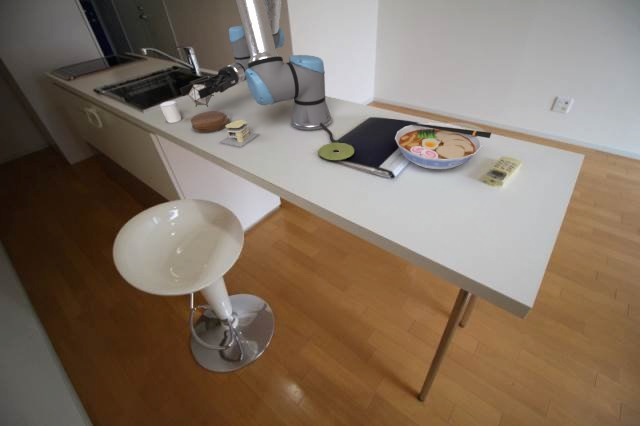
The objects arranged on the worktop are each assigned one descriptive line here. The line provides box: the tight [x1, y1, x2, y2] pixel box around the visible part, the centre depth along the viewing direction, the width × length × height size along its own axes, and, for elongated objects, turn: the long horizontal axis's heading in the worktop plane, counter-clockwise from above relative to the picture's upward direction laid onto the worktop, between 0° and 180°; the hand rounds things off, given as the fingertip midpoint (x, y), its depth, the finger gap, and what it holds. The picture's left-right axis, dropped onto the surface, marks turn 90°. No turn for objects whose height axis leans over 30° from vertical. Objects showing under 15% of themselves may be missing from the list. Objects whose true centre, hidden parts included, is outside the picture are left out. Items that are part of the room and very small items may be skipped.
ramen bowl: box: [394, 121, 492, 170], centre depth 82 cm, size 25×23×8 cm
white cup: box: [159, 100, 182, 124], centre depth 120 cm, size 7×7×7 cm
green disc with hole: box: [317, 142, 355, 161], centre depth 90 cm, size 11×11×2 cm
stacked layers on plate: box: [220, 119, 258, 148], centre depth 103 cm, size 10×9×6 cm
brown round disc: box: [190, 110, 230, 134], centre depth 114 cm, size 14×14×4 cm
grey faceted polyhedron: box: [185, 83, 215, 108], centre depth 108 cm, size 9×8×10 cm
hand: (190, 93), depth 103 cm, fingers closed on grey faceted polyhedron, 8 cm apart
